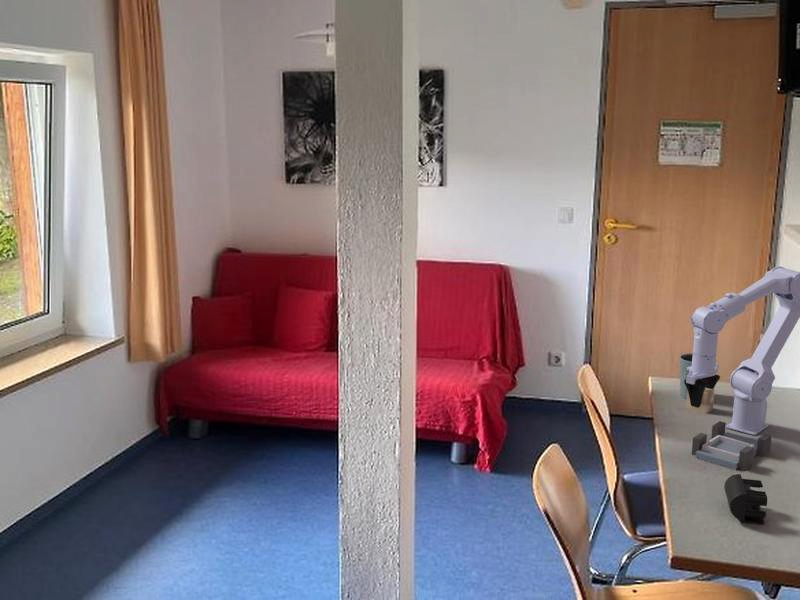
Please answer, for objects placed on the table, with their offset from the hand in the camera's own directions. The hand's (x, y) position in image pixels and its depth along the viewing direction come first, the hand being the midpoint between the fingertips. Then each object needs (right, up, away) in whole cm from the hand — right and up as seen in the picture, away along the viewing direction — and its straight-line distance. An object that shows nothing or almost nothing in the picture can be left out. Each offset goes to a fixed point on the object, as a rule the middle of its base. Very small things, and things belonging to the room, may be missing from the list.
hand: (700, 403), depth 218 cm
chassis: (+4, -11, -10) cm, 15 cm away
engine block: (0, -2, 0) cm, 2 cm away
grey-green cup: (+9, -2, +30) cm, 31 cm away
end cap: (-5, -18, -40) cm, 45 cm away
